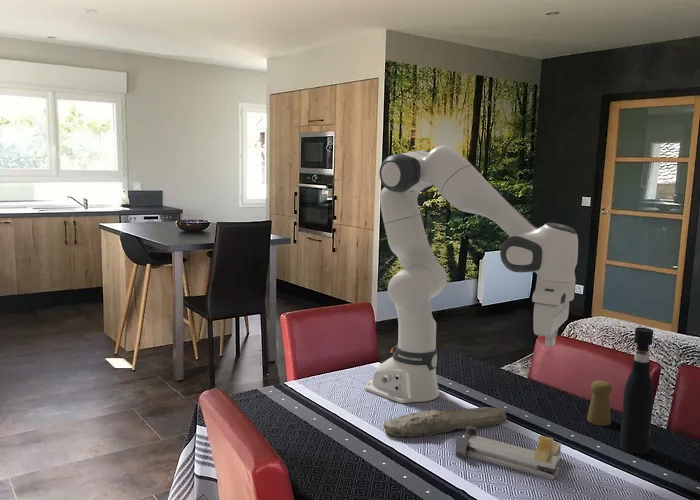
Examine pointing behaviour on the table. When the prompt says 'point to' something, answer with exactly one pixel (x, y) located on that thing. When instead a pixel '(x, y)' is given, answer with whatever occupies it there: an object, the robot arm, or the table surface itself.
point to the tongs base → (499, 458)
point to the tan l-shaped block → (544, 448)
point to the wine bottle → (638, 398)
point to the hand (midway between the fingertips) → (549, 345)
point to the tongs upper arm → (509, 451)
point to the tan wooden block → (556, 449)
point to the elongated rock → (443, 421)
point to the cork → (600, 403)
